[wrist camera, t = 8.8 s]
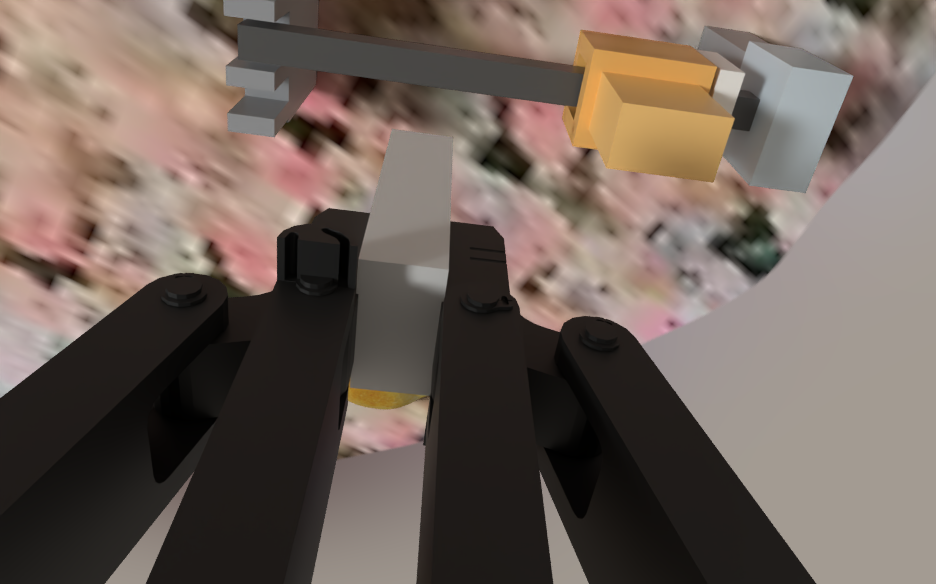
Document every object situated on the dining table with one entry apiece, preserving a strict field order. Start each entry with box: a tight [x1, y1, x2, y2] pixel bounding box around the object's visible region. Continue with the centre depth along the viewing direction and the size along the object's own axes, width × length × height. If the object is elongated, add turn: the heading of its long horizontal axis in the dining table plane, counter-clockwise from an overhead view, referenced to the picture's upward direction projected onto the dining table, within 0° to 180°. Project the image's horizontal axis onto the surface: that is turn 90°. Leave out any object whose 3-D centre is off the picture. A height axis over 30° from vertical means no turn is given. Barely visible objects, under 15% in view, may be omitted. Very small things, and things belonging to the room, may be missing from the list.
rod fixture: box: [223, 0, 853, 193], centre depth 33 cm, size 25×8×12 cm, turn 82°
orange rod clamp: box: [562, 30, 735, 182], centre depth 29 cm, size 5×4×8 cm
